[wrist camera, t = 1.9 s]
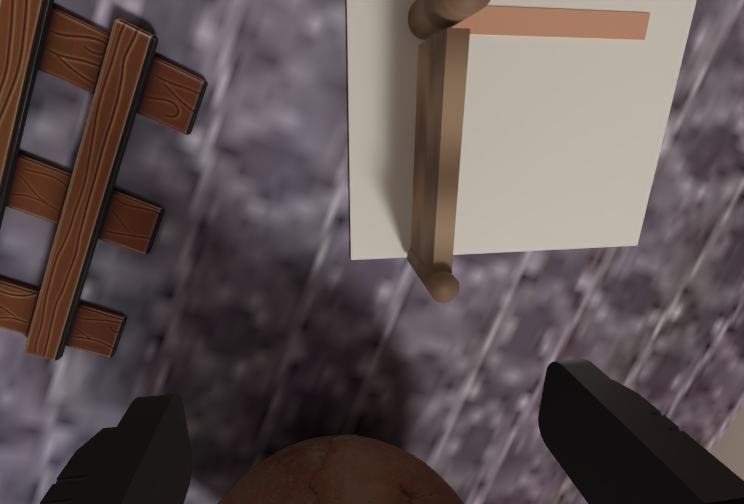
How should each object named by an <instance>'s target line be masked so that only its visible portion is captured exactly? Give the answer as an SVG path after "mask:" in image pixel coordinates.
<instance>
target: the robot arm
mask: <svg viewBox="0 0 744 504" xmlns="http://www.w3.org/2000/svg"><path fill="white" fill-rule="evenodd" d="M538 422H539V429H540V433H541V436H542V438H543V441H544V443H545V444H546V446H547V447H548V449H549V450H550V452H551V453H552V454H553V456H554V457H555V458H556V460H557V461H558V463H559V464H560V465H561V467H562V468H563V469H564V471H565V472H566V474H567V475H568V476H569V478H570V479H571V480H572V482H573V483H574V485H575V486H576V487H577V489H578V490H579V491H580V493H581V494H582V496H583V497H584V498H585V500H586V501H587V502H588V504H744V481H743V480H742V479H740V478H739V477H738V476H737V475H736V474H735V473H733V472H732V471H731V470H730V469H729V468H727V467H726V466H725V465H724V464H723V463H721V462H720V461H719V460H718V459H717V458H715V457H714V456H713V455H712V454H711V453H709V452H708V451H707V450H706V449H705V448H703V447H702V446H701V445H700V444H698V443H697V442H696V441H695V440H694V439H692V438H691V437H690V436H689V435H688V434H686V433H685V432H684V431H680V430H679V427H678V426H677V425H676V424H674V423H673V422H672V421H671V420H670V419H668V418H667V417H666V416H665V415H664V416H662V415H661V414H660V411H659V410H658V409H656V408H655V407H654V406H653V405H652V404H650V403H649V402H648V401H647V400H646V399H644V398H643V397H642V396H641V395H640V394H638V393H636V392H634V391H633V390H631V389H629V388H627V387H625V386H623V385H621V384H620V383H618V382H616V381H614V380H611V379H610V378H609V377H608V376H606V375H605V374H604V373H603V372H602V371H601V370H599V369H598V368H597V367H596V366H595V365H594V364H592V363H591V362H590V361H588V360H585V359H580V360H568V361H557V362H552V363H550V364H549V366H548V368H547V371H546V376H545V382H544V388H543V393H542V399H541V405H540V410H539V417H538ZM191 471H192V453H191V447H190V441H189V436H188V430H187V424H186V419H185V413H184V407H183V402H182V399H181V397H180V395H179V394H171V395H160V396H148V397H138V398H136V399H135V400H134V401H133V402H132V403H131V405H130V406H129V408H128V410H127V411H126V413H125V414H124V416H123V418H122V419H121V421H120V422H119V424H118V426H117V427H112V428H103V429H102V430H101V431H99V432H98V433H97V434H96V435H95V436H93V437H92V438H91V439H90V440H89V441H88V442H86V443H85V444H84V445H83V446H82V447H80V448H79V449H78V450H77V451H76V452H75V453H74V455H73V456H72V457H71V459H70V460H69V462H68V463H67V465H66V466H65V467H64V469H63V470H62V472H61V473H60V475H59V476H58V478H57V482H56V484H53V485H52V486H51V488H50V489H49V490H48V492H47V493H46V495H45V496H44V498H43V499H42V500H41V502H40V504H183V503H184V500H185V497H186V494H187V491H188V488H189V484H190V479H191Z"/></svg>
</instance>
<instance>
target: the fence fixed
mask: <svg viewBox="0 0 744 504" xmlns="http://www.w3.org/2000/svg"><path fill="white" fill-rule="evenodd" d="M489 2H490V0H416V1H415V2H414V3H413V4H412V5H411V7H410V9H409V12H408V24H409V28H410V30H411V31H412V33H413V34H414V35H415V36H416V37H418V38H420V39H423V40H428V39H429V38H431V37H433V36H434V35H436V34H438V33H439V32H441V31H443V30H444V29H446V28H451V27H453V26H455V25H456V24H458V23H460V22H461V21H463V20H465V19H467V18H468V17H470V16H472V15H473V14H475V13H477V12H479V11H480V10H482V9H483V8H484V7H485V6H487V4H488V3H489Z"/></svg>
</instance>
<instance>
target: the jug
mask: <svg viewBox="0 0 744 504" xmlns="http://www.w3.org/2000/svg"><path fill="white" fill-rule="evenodd" d="M218 504H464V503H463V502H462V500H461V499H460V498H459V496H458V495H457V494H456V493H455V491H454V490H453V489H452V488H451V487H450V486H449V485H448V484H447V483H446V482H445V481H444V480H443V479H442V478H441V477H440V476H439V475H438V474H437V473H436V472H435V471H434V470H433V469H431V468H430V467H429V466H428V465H427V464H426V463H425V462H423V461H422V460H420V459H418V458H417V457H415V456H414V455H412V454H410V453H408V452H407V451H405V450H403V449H401V448H398V447H396V446H393V445H391V444H388V443H385V442H383V441H380V440H376V439H372V438H368V437H364V436H357V435H356V434H353V435H330V436H321V437H315V438H311V439H307V440H304V441H301V442H298V443H295V444H292V445H289V446H287V447H285V448H283V449H281V450H280V451H278V452H276V453H274V454H272V455H271V456H269V457H267V458H266V459H264V460H263V461H262V462H260V463H259V464H257V465H256V466H255V467H254V468H252V469H251V470H250V471H248V472H247V473H246V474H245V475H244V476H243V477H242V478H241V479H240V480H239V481H238V482H237V483H236V484H235V485H234V486H233V488H232V489H231V490H230V491H229V492H228V493H227V494H226V495H225V496H224V498H223V499H222V500H221V501H220V502H219V503H218Z"/></svg>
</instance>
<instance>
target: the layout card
mask: <svg viewBox="0 0 744 504" xmlns="http://www.w3.org/2000/svg"><path fill="white" fill-rule="evenodd" d="M415 1H416V0H347V54H348V117H349V180H350V243H351V260H360V259H380V258H400V257H407V254H408V251H409V249H410V248H411V228H412V202H413V176H414V150H415V124H416V97H417V71H418V45H419V44H421V43H423V42H424V41H426V40H423V39H420V38H418V37H416V36H415V35H414V34H413V33H412V31H411V30H410V28H409V24H408V12H409V9H410V7H411V5H412V4H413V3H414V2H415ZM695 4H696V0H490V2H489V3H488V4H487V6H485V7H484V8H483V9H482V10H480V11H479V12H477V13H475V14H473V15H472V16H470V17H468V18H467V19H465V20H463V21H461V22H460V23H458V24H456V25H455V26H453V27H451V28H469V29H470V39H469V52H468V65H467V78H466V91H465V104H464V117H463V130H462V143H461V156H460V169H459V182H458V195H457V208H456V222H455V235H454V248H453V255H459V254H479V253H499V252H519V251H538V250H558V249H578V248H598V247H617V246H637V245H638V241H639V237H640V232H641V228H642V224H643V220H644V216H645V212H646V208H647V203H648V199H649V195H650V191H651V187H652V183H653V179H654V174H655V170H656V166H657V162H658V158H659V154H660V150H661V145H662V141H663V137H664V133H665V129H666V125H667V121H668V116H669V112H670V108H671V104H672V100H673V96H674V92H675V87H676V83H677V79H678V75H679V71H680V67H681V62H682V58H683V54H684V50H685V46H686V42H687V38H688V33H689V29H690V25H691V21H692V17H693V13H694V9H695Z"/></svg>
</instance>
